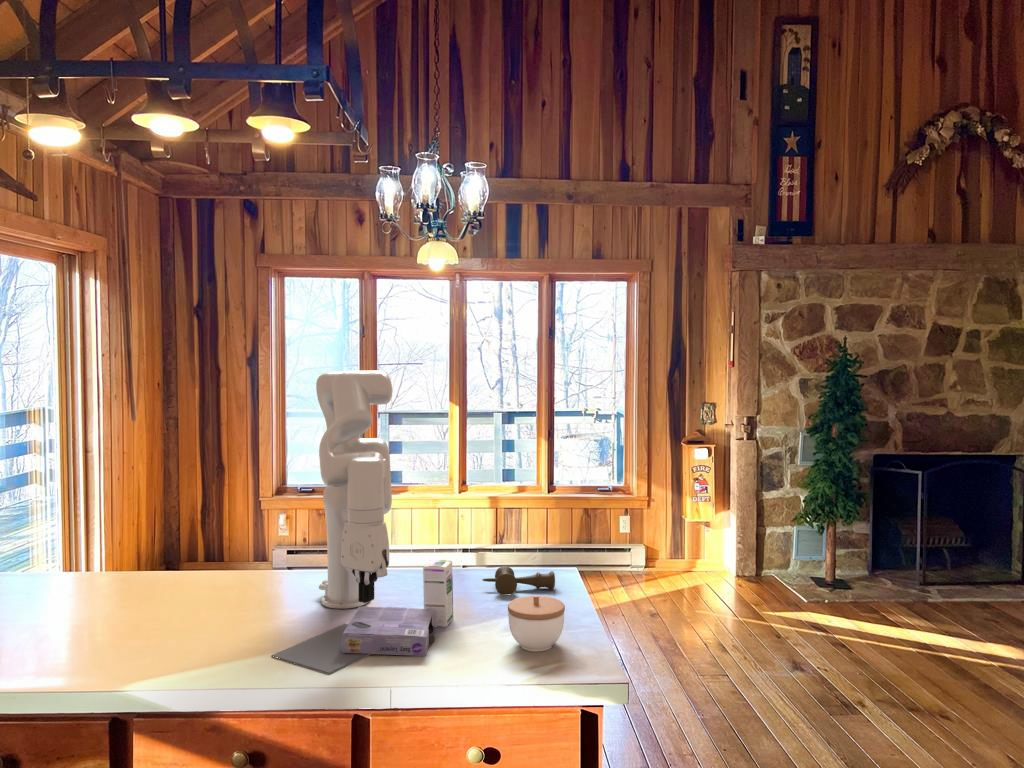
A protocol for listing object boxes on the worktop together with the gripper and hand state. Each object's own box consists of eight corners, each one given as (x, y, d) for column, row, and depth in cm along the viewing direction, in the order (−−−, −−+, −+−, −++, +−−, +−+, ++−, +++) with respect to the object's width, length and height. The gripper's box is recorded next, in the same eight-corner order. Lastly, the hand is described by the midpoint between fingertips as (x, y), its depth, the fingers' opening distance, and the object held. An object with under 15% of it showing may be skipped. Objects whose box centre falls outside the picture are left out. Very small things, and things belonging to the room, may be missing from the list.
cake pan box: (431, 658, 160) (437, 625, 178) (431, 636, 160) (438, 605, 178) (340, 656, 160) (356, 623, 178) (341, 633, 160) (356, 603, 177)
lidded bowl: (548, 661, 158) (549, 609, 157) (497, 649, 164) (497, 599, 164) (574, 641, 169) (574, 592, 168) (524, 631, 175) (524, 584, 175)
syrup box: (447, 627, 177) (446, 566, 177) (423, 626, 178) (422, 565, 178) (453, 619, 183) (453, 560, 182) (430, 617, 184) (430, 559, 183)
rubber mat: (271, 656, 160) (271, 655, 160) (345, 625, 179) (344, 623, 179) (329, 674, 151) (329, 672, 151) (400, 639, 170) (400, 637, 170)
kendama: (556, 596, 202) (482, 596, 201) (552, 586, 212) (481, 585, 210) (557, 574, 202) (482, 573, 201) (553, 565, 212) (482, 564, 210)
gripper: (327, 514, 160) (328, 599, 161) (381, 523, 152) (381, 612, 153) (352, 508, 167) (352, 590, 167) (404, 516, 159) (405, 601, 160)
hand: (366, 600), depth 160 cm, fingers closed
